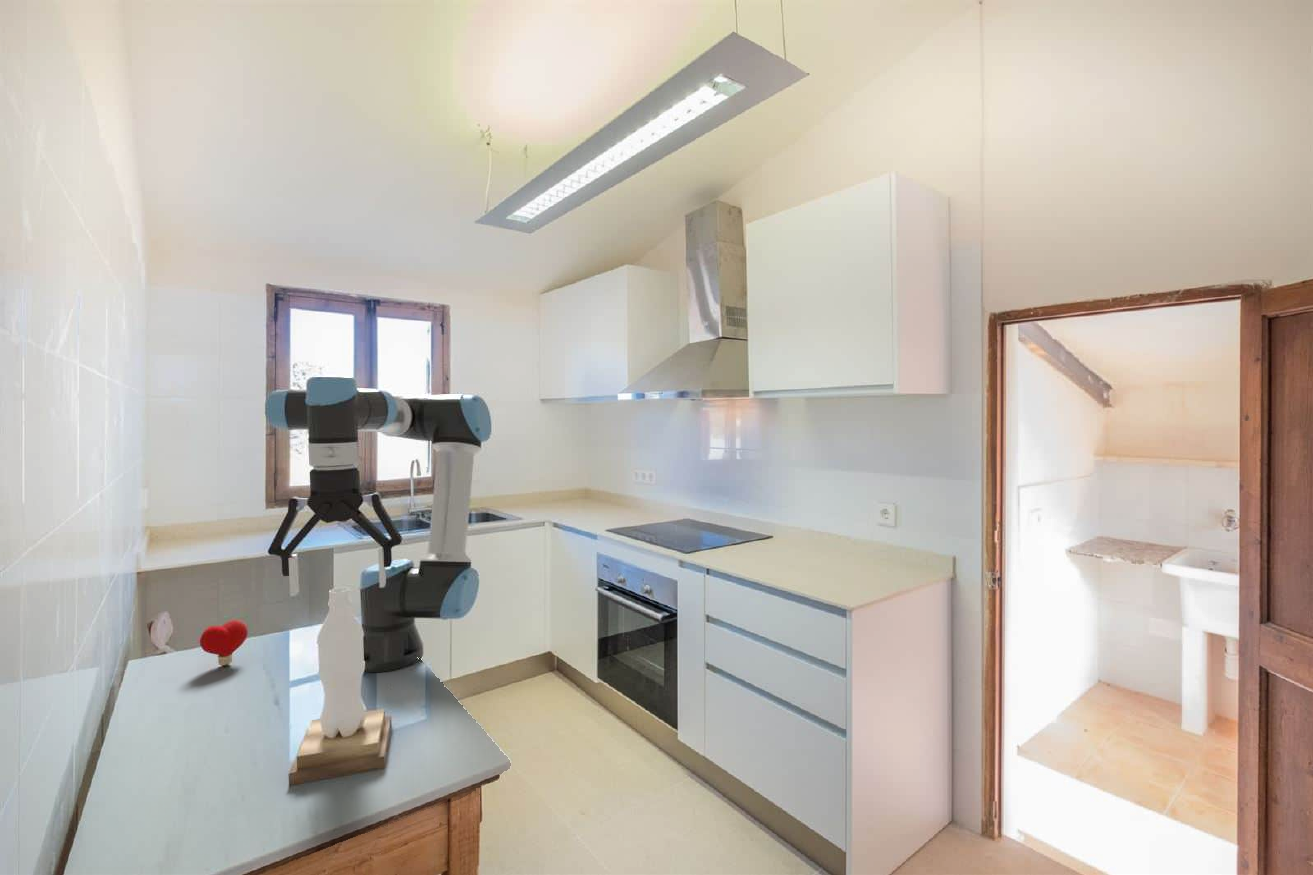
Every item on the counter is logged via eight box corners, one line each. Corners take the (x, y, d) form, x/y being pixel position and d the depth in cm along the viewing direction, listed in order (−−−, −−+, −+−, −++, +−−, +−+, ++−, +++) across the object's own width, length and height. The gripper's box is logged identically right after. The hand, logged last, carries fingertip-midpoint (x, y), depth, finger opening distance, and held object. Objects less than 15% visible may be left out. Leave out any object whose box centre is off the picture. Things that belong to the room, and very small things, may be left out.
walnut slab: (307, 739, 110) (307, 729, 110) (391, 725, 114) (391, 715, 114) (288, 785, 97) (288, 773, 96) (384, 767, 101) (384, 756, 101)
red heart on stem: (242, 655, 147) (240, 615, 146) (254, 662, 143) (252, 621, 142) (196, 669, 140) (194, 626, 139) (207, 677, 135) (205, 633, 135)
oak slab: (312, 730, 109) (312, 720, 109) (385, 719, 113) (384, 708, 113) (297, 768, 98) (296, 756, 98) (378, 754, 102) (377, 742, 102)
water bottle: (358, 715, 110) (354, 581, 109) (373, 730, 105) (368, 589, 104) (315, 731, 105) (309, 590, 104) (328, 747, 100) (322, 599, 99)
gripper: (242, 473, 95) (248, 605, 97) (412, 466, 103) (416, 588, 105) (256, 468, 102) (262, 591, 104) (414, 462, 110) (418, 576, 112)
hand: (339, 589), depth 104 cm, fingers open, 13 cm apart
